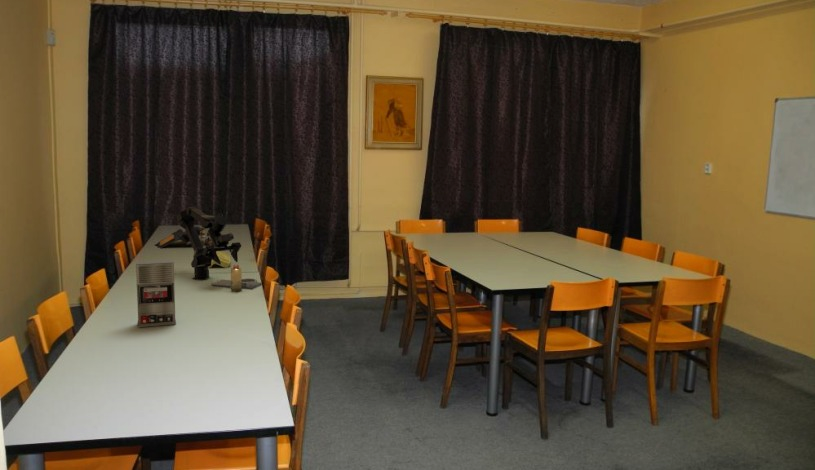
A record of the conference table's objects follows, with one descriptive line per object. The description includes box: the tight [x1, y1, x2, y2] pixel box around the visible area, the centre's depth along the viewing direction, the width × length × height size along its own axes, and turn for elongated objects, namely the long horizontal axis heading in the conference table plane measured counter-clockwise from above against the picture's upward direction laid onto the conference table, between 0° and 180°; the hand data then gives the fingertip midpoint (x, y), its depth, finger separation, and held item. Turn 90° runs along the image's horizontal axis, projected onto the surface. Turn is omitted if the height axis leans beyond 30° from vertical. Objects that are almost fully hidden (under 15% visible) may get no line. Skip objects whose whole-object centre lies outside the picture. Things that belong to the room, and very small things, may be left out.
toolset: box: [154, 225, 212, 249], centre depth 424 cm, size 40×20×27 cm
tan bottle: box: [230, 264, 243, 293], centre depth 305 cm, size 5×5×12 cm
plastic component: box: [208, 251, 231, 269], centre depth 364 cm, size 20×7×10 cm
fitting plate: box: [210, 278, 263, 291], centre depth 316 cm, size 22×11×3 cm, turn 78°
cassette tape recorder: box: [135, 259, 177, 328], centre depth 248 cm, size 14×6×25 cm, turn 114°
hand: (228, 262), depth 308 cm, fingers open, 9 cm apart
